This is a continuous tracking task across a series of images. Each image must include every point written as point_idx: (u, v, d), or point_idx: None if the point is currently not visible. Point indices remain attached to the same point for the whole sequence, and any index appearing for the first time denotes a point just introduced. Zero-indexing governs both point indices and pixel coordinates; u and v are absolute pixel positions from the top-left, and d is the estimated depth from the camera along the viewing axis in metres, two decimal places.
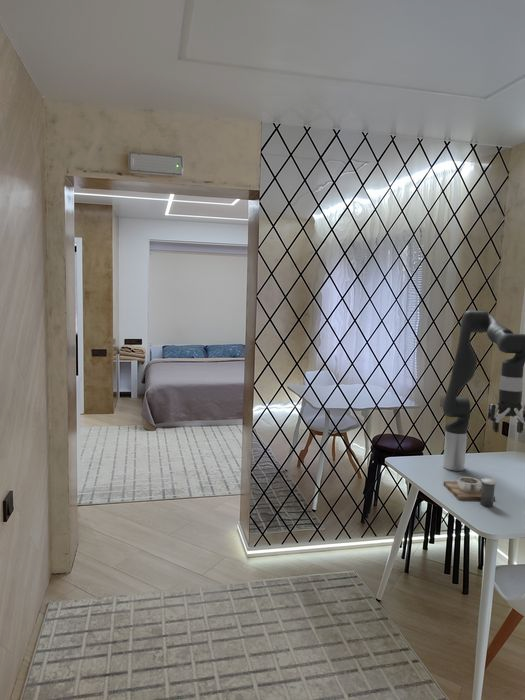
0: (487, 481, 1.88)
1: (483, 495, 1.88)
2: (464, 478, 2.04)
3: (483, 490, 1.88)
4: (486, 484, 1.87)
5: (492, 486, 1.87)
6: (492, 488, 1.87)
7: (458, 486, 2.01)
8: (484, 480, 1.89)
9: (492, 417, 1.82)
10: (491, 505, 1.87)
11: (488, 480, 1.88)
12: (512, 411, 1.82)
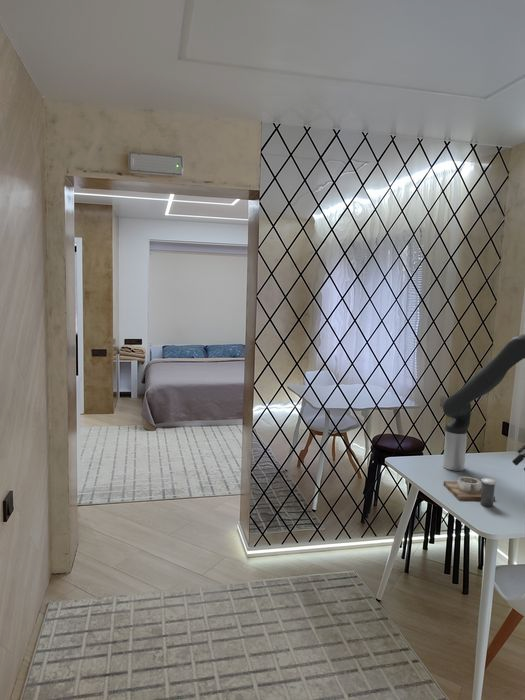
0: (487, 481, 1.88)
1: (483, 495, 1.88)
2: (464, 478, 2.04)
3: (483, 490, 1.88)
4: (486, 484, 1.87)
5: (492, 486, 1.87)
6: (492, 488, 1.87)
7: (458, 486, 2.01)
8: (484, 480, 1.89)
9: None
10: (491, 505, 1.87)
11: (488, 480, 1.88)
12: None
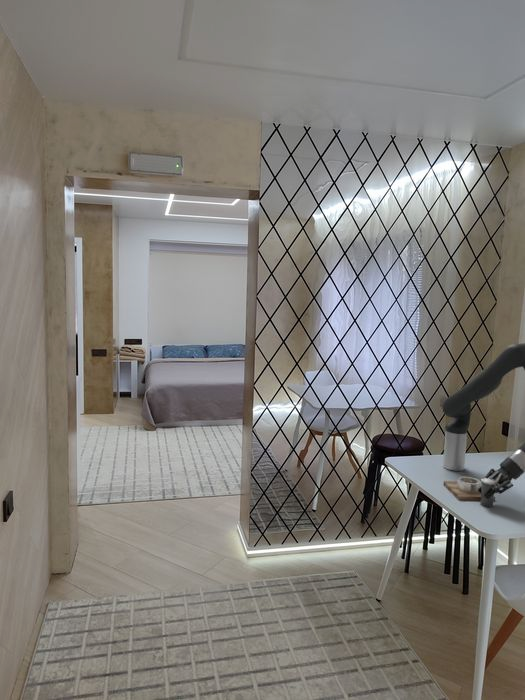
0: (487, 481, 1.88)
1: (483, 495, 1.88)
2: (464, 478, 2.04)
3: (483, 490, 1.88)
4: (486, 484, 1.87)
5: None
6: None
7: (458, 486, 2.01)
8: (484, 480, 1.89)
9: None
10: (491, 505, 1.87)
11: (488, 480, 1.88)
12: None
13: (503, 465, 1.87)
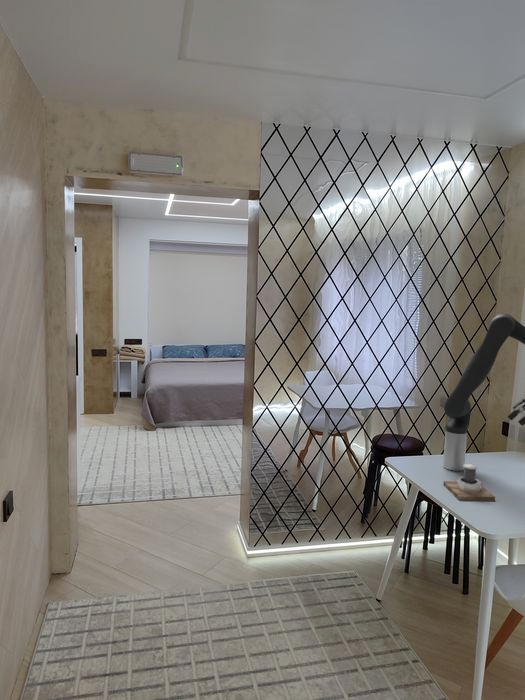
0: (469, 466, 1.99)
1: (465, 479, 2.00)
2: None
3: (465, 475, 2.00)
4: (468, 469, 1.99)
5: (473, 471, 1.98)
6: (473, 473, 1.98)
7: (458, 486, 2.01)
8: (466, 465, 2.00)
9: None
10: None
11: (469, 466, 2.00)
12: None
13: None
